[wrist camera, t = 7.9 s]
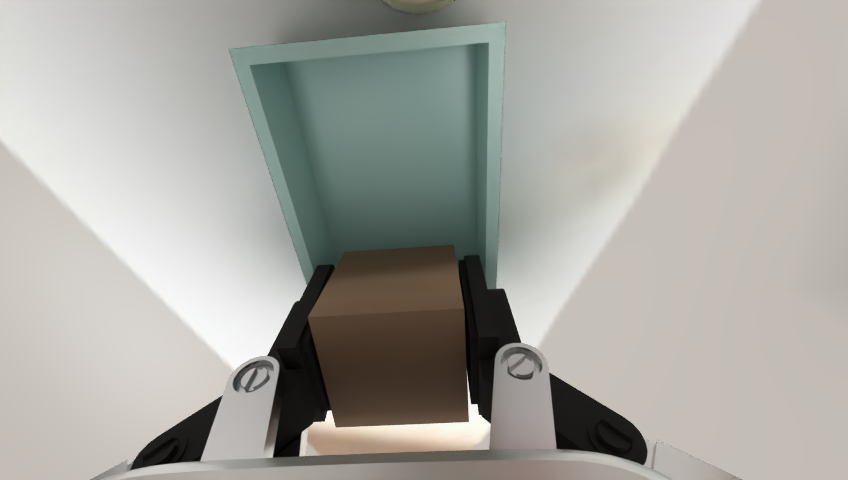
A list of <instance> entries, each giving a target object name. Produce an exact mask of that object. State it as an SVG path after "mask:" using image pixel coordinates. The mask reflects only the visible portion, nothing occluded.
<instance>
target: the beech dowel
mask: <svg viewBox="0 0 848 480" xmlns="http://www.w3.org/2000/svg"><path fill="white" fill-rule="evenodd" d="M382 1H383V2H384V3H386V4H387V5H389V6H390V7H392V8H394V9H396V10H399V11H402V12H405V13H410V14H426V13H432V12H435V11H438V10H440V9H442V8H444V7H446V6H448V5H449V4H450V3H452V2H453V1H455V0H382Z"/></svg>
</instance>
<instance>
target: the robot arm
mask: <svg viewBox="0 0 848 480" xmlns="http://www.w3.org/2000/svg"><path fill="white" fill-rule="evenodd" d="M334 270H335V266H334V265H333V264H329V265H318V266H317V267H316V269H315V271H314V273H313V275H312V277H311V279H310V281H309V283H308V285H307V287H306V289H305V291H304V293H303V295H302V297H301V299H300V301H297V302H295V304H294V305H293V307H292V309H291V311H290V313H289V315H288V317H287V318H286V320H285V322H284V324H283V326H282V328H281V330H280V332H279V334H278V336H277V338H276V340H275V342H274V344H273V346H272V348H271V350H270V352H269V354H268V355H267V356H260V357H256V358H253V359H250V360H249V361H247V362H245V363H243V364H242V365H241V366H239V367H238V368H237V369H236V370H235V371H234V372H233V373H232V374H231V376H230V378H229V380H228V382H227V385H226V388H225V391H224V393H223V395H222V396H221V397H219V398H218V399H216V400H214V401H213V402H212V403H210V404H208V405H207V406H205V407H203V408H202V409H200V410H199V411H197V412H196V413H194V414H192V415H191V416H189V417H188V418H186V419H185V420H183V421H181V422H180V423H178V424H177V425H175V426H174V427H172V428H171V429H169V430H168V431H166V432H164V433H163V434H161V435H160V436H158V437H157V438H155V439H154V440H153V441H151V442H150V443H149V444H148V445H147V446H146V447H145V448H144V449H143V450H142V451H141V452H140V453H139V454H138V456H137V457H136V459H135V460H134V462H132V463H131V462H130V461H129V460H126V461H124V462H122V463H121V464H119V465H117V466H115V467H113V468H111V469H109V470H107V471H105V472H104V473H102V474H100V475H98V476H96V477H94V478H92V479H91V480H742V479H740V478H738V477H736V476H734V475H731V474H729V473H727V472H725V471H723V470H721V469H719V468H717V467H715V466H712V465H710V464H708V463H706V462H704V461H702V460H700V459H698V458H695V457H693V456H691V455H689V454H687V453H685V452H683V451H681V450H678V449H676V448H674V447H672V446H670V445H668V444H666V443H664V442H662V441H659V440H657V442H656V443H654V442H652V441H649V440H648V439H645V438H643V436H642V435H641V433H640V431H639V430H638V429H637V428H636V427H635V426H634V425H633V424H632V423H631V422H629V421H628V420H627V419H625V418H624V417H623V416H621V415H619V414H617V413H616V412H614V411H612V410H611V409H609V408H607V407H606V406H604V405H602V404H601V403H599V402H597V401H596V400H594V399H592V398H591V397H589V396H587V395H586V394H584V393H582V392H581V391H579V390H577V389H576V388H574V387H572V386H571V385H569V384H567V383H566V382H564V381H562V380H561V379H559V378H557V377H556V376H554V375H552V374H551V373H549V368H548V364H547V360H546V358H545V357H544V355H543V354H542V353H541V352H540V351H539V350H537V349H536V348H534V347H532V346H530V345H528V344H523V343H521V340H520V337H519V334H518V331H517V328H516V325H515V322H514V318H513V315H512V312H511V309H510V306H509V303H508V299H507V296H506V293H505V291H504V289H487V285H486V281H485V277H484V273H483V269H482V265H481V261H480V257H479V255H467V256H464V260H459V280H460V286H461V292H462V298H463V304H464V316H465V341H466V366H467V375H468V383H469V391H470V399H471V404H478V411H479V415H482V417H483V418H484V419H485V420H487V421H488V422H489V423H490V424H491V430H490V446H489V450H466V451H435V452H404V453H377V454H350V455H324V456H305V455H306V443H307V428H308V427H309V426H310V425H312V424H313V422H322V421H325V418H326V414H327V411H329V410H331V406H330V402H329V398H328V394H327V391H326V387H325V383H324V379H323V375H322V371H321V367H320V363H319V359H318V356H317V352H316V348H315V344H314V340H313V336H312V332H311V328H310V324H309V321H308V316H309V314H310V312H311V311H312V309H313V307H314V305H315V303H316V302H317V300H318V298H319V296H320V295H321V293H322V291H323V289H324V288H325V286H326V284H327V282H328V280H329V279H330V277H331V275H332V273H333V272H334Z"/></svg>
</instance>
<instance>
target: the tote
mask: <svg viewBox="0 0 848 480" xmlns="http://www.w3.org/2000/svg"><path fill="white" fill-rule="evenodd" d="M505 25H506V22H499V23H488V24H478V25H468V26H458V27H448V28H437V29H427V30H417V31H407V32H397V33H387V34H376V35H366V36H356V37H346V38H336V39H325V40H315V41H305V42H295V43H285V44H275V45H264V46H254V47H244V48H234V49H229V52H230V55H231V58H232V61H233V64H234V67H235V70H236V73H237V76H238V79H239V82H240V85H241V88H242V91H243V94H244V97H245V100H246V103H247V106H248V109H249V112H250V115H251V118H252V121H253V124H254V127H255V130H256V133H257V136H258V139H259V142H260V145H261V148H262V151H263V154H264V157H265V160H266V163H267V166H268V169H269V172H270V175H271V178H272V181H273V184H274V187H275V190H276V193H277V196H278V199H279V202H280V205H281V208H282V211H283V214H284V217H285V220H286V223H287V226H288V229H289V232H290V235H291V238H292V241H293V244H294V247H295V250H296V253H297V256H298V259H299V262H300V265H301V268H302V271H303V274H304V277H305V280H306V283H307V285H308V283H309V281H310V279H311V277H312V275H313V273H314V271H315V269H316V267H317V266H318V265H329V264H333V265H334V266H335V268H336V266H337V265H338V263H339V261H340V259H341V257H342V256H343V254H344V252H351V251H366V250H381V249H396V248H411V247H426V246H441V245H454V249H455V255H456V261H457V267H458V273H459V260H464V256H467V255H479V257H480V261H481V265H482V269H483V273H484V277H485V281H486V285H487V289H496V278H497V250H498V221H499V193H500V165H501V137H502V109H503V81H504V53H505Z"/></svg>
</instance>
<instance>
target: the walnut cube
mask: <svg viewBox="0 0 848 480" xmlns="http://www.w3.org/2000/svg"><path fill="white" fill-rule="evenodd" d="M308 321H309V324H310V328H311V332H312V336H313V340H314V344H315V348H316V352H317V356H318V359H319V363H320V367H321V371H322V375H323V379H324V383H325V387H326V391H327V394H328V398H329V402H330V406H331V410H332V414H333V418H334V422H335V426H336V427H356V426H380V425H405V424H429V423H453V422H469V416H468V391H467V366H466V341H465V316H464V304H463V298H462V292H461V286H460V280H459V273H458V267H457V261H456V255H455V249H454V245H441V246H426V247H411V248H396V249H381V250H366V251H351V252H344V254H343V256H342V257H341V259H340V261H339V263H338V265H337V266H336V268H335V270H334V272H333V273H332V275H331V277H330V279H329V280H328V282H327V284H326V286H325V288H324V289H323V291H322V293H321V295H320V296H319V298H318V300H317V302H316V303H315V305H314V307H313V309H312V311H311V312H310V314H309V316H308Z"/></svg>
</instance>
